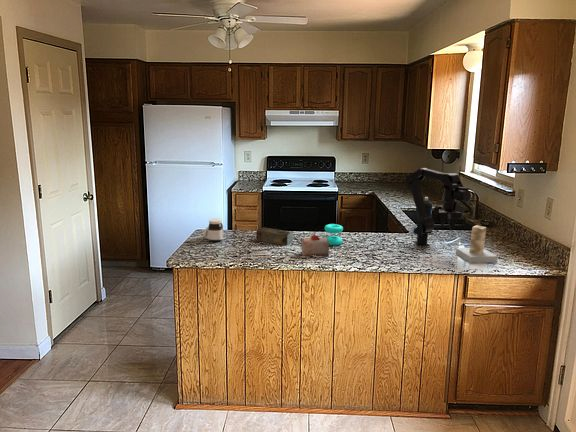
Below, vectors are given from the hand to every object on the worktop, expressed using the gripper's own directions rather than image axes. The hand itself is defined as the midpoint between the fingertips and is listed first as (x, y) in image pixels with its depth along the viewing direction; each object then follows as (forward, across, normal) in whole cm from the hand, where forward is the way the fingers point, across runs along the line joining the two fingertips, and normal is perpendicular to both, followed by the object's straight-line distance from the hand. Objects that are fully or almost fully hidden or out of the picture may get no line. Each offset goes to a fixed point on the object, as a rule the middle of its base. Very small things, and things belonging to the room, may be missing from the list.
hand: (446, 228), depth 236 cm
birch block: (+10, -10, -12) cm, 18 cm away
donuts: (+13, +21, +54) cm, 60 cm away
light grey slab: (+13, -10, -12) cm, 20 cm away
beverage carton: (+13, +28, +86) cm, 91 cm away
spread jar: (+12, +34, +119) cm, 125 cm away
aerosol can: (+13, +44, -9) cm, 47 cm away
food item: (+13, +4, +68) cm, 69 cm away
